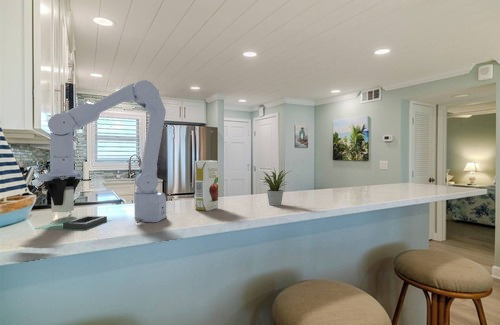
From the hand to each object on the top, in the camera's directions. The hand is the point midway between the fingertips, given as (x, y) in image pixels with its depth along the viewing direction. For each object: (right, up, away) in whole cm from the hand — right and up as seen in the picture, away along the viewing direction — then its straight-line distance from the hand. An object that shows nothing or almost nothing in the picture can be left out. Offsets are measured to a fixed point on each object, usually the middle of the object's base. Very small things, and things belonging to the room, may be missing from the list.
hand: (63, 204), depth 82 cm
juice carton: (+37, -6, +29) cm, 48 cm away
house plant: (+66, -6, +39) cm, 77 cm away
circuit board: (+4, -7, 0) cm, 8 cm away
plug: (0, -2, 0) cm, 2 cm away
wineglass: (-6, -7, +13) cm, 16 cm away
